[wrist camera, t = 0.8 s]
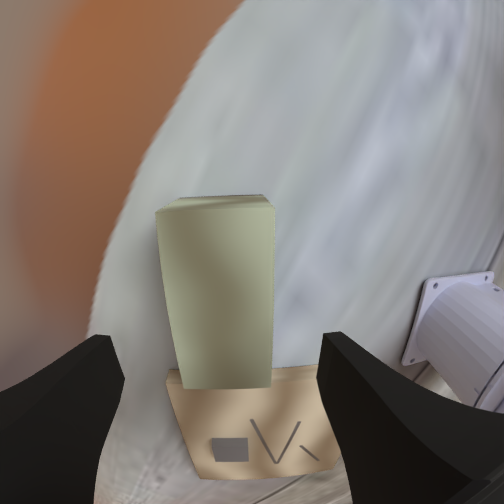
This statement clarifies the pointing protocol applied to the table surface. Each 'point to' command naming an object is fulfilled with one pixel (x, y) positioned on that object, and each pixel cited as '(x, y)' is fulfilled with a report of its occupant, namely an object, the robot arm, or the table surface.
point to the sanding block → (220, 288)
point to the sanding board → (258, 426)
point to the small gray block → (230, 449)
